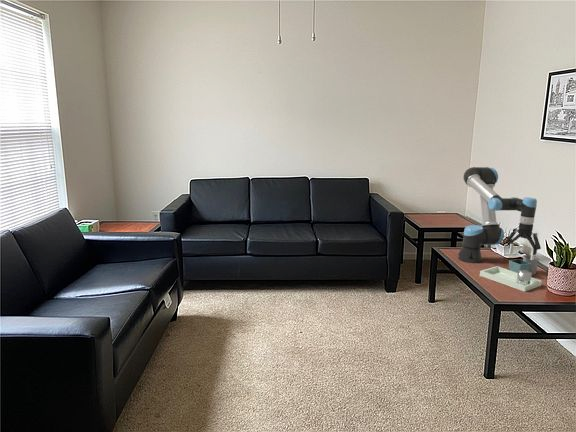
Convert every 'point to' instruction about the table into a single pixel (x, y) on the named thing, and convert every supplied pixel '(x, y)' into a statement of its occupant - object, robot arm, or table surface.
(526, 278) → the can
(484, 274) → the shallow serving tray
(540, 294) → the table surface
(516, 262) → the flower pot
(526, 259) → the cup
